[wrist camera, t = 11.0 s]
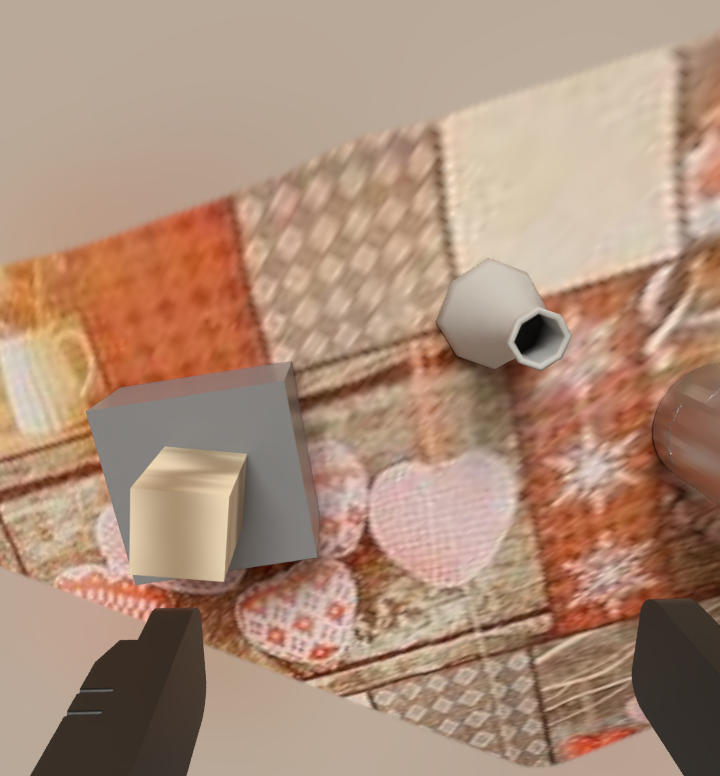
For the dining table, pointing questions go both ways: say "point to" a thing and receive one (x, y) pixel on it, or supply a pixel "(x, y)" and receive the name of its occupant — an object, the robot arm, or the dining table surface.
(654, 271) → the dining table surface
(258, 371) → the grey box
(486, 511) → the dining table surface
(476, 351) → the flask
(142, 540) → the birch block
